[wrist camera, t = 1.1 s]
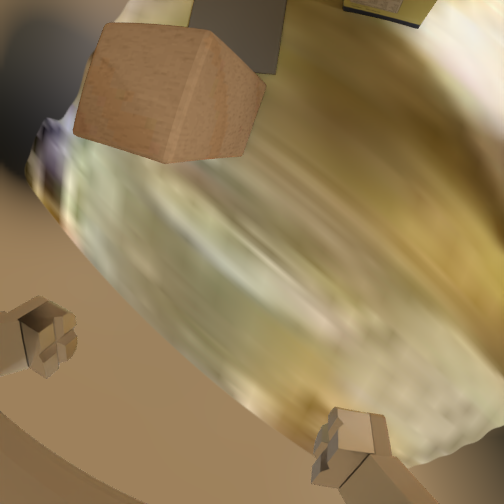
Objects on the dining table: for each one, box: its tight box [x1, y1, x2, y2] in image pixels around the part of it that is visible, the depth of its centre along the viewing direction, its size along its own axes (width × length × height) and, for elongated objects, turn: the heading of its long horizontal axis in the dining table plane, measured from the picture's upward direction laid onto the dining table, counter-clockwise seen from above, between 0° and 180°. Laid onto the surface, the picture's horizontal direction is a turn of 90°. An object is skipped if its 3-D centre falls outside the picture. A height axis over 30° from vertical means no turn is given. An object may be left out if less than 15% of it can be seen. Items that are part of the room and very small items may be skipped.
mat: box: [188, 0, 287, 74], centre depth 32 cm, size 13×22×1 cm, turn 172°
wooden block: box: [73, 23, 266, 164], centre depth 28 cm, size 10×10×20 cm
